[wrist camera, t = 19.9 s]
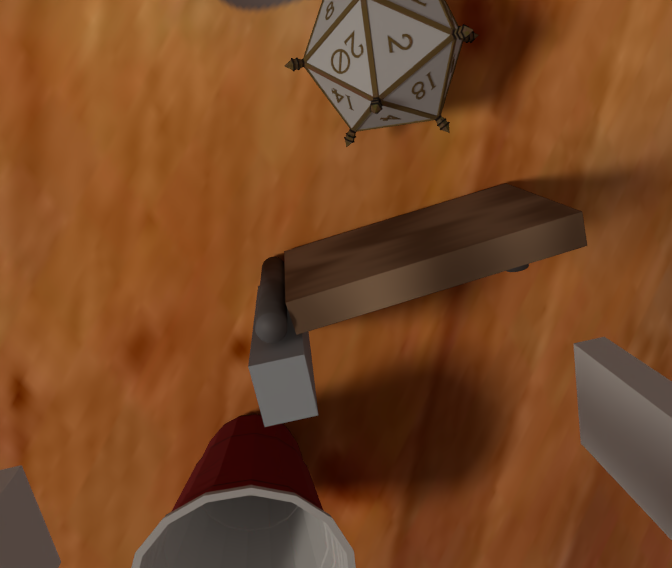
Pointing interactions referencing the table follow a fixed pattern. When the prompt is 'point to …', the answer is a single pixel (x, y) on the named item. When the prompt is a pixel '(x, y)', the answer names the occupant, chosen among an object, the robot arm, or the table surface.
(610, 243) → the table surface
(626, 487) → the robot arm
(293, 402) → the grey upright posts
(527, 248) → the door
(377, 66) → the game die
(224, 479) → the plastic cup
